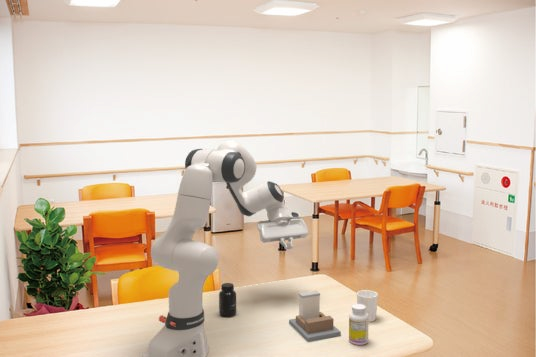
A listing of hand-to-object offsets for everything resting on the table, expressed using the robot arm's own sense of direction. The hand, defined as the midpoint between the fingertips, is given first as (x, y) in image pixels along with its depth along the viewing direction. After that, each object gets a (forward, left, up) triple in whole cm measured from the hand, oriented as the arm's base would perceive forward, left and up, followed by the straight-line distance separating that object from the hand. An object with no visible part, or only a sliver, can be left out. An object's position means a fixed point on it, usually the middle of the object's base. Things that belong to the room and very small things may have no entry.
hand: (289, 248), depth 214 cm
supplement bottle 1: (-22, +12, -25) cm, 35 cm away
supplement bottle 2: (-6, -39, -25) cm, 46 cm away
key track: (-9, -21, -24) cm, 33 cm away
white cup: (+12, -30, -25) cm, 40 cm away
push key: (-8, -17, -23) cm, 30 cm away
